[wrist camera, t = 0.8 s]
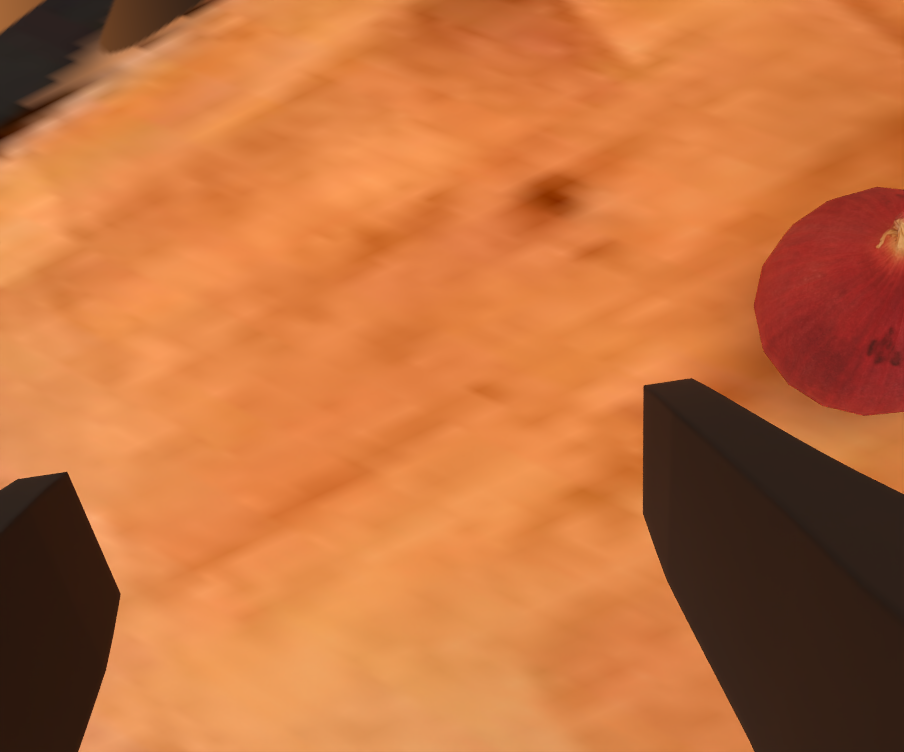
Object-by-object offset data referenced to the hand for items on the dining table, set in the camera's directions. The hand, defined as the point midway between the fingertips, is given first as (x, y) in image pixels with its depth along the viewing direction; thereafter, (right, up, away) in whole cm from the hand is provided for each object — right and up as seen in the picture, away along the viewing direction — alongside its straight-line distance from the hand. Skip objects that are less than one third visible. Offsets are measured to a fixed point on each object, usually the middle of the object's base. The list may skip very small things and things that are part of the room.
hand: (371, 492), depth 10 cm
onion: (+13, +2, +15) cm, 20 cm away
